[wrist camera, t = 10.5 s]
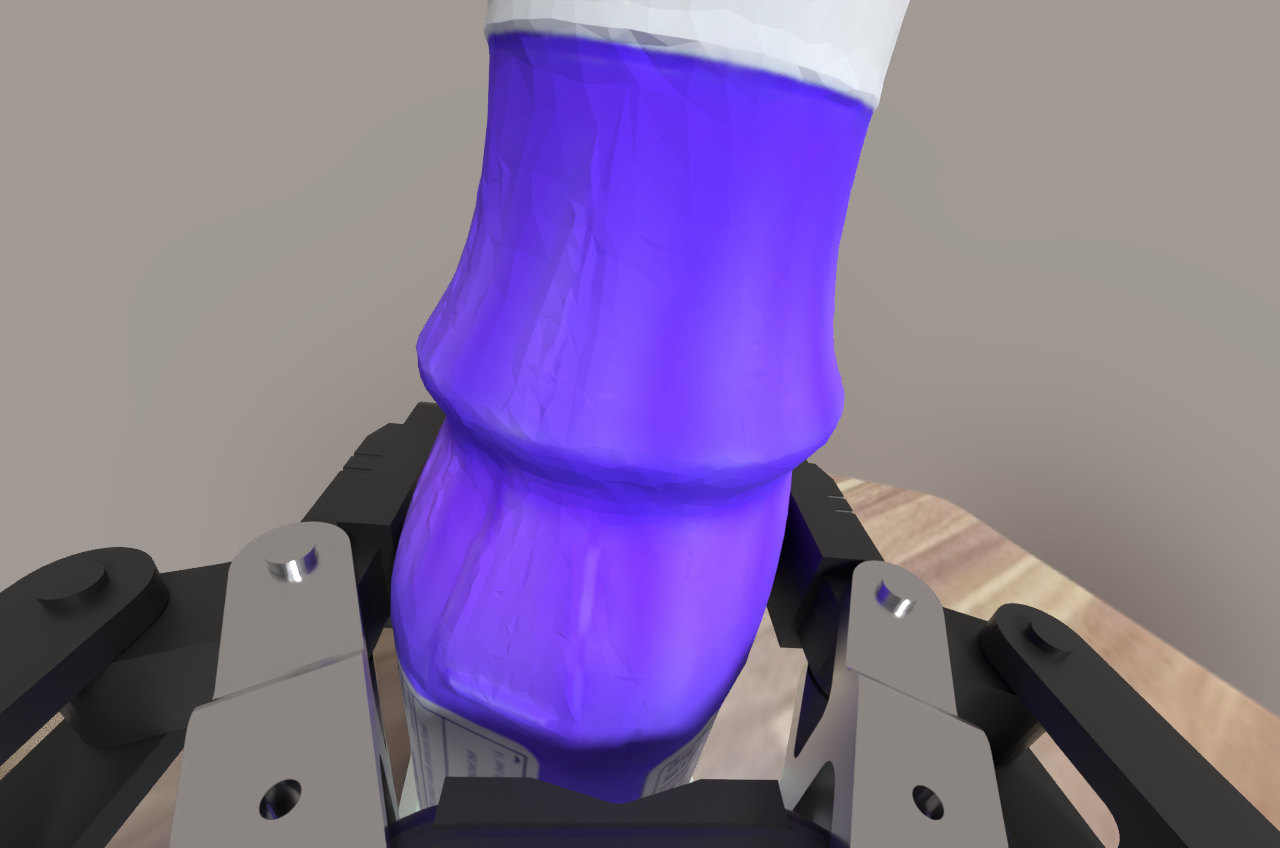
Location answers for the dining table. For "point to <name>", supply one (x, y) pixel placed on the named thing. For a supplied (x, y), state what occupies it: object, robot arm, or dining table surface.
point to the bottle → (627, 379)
